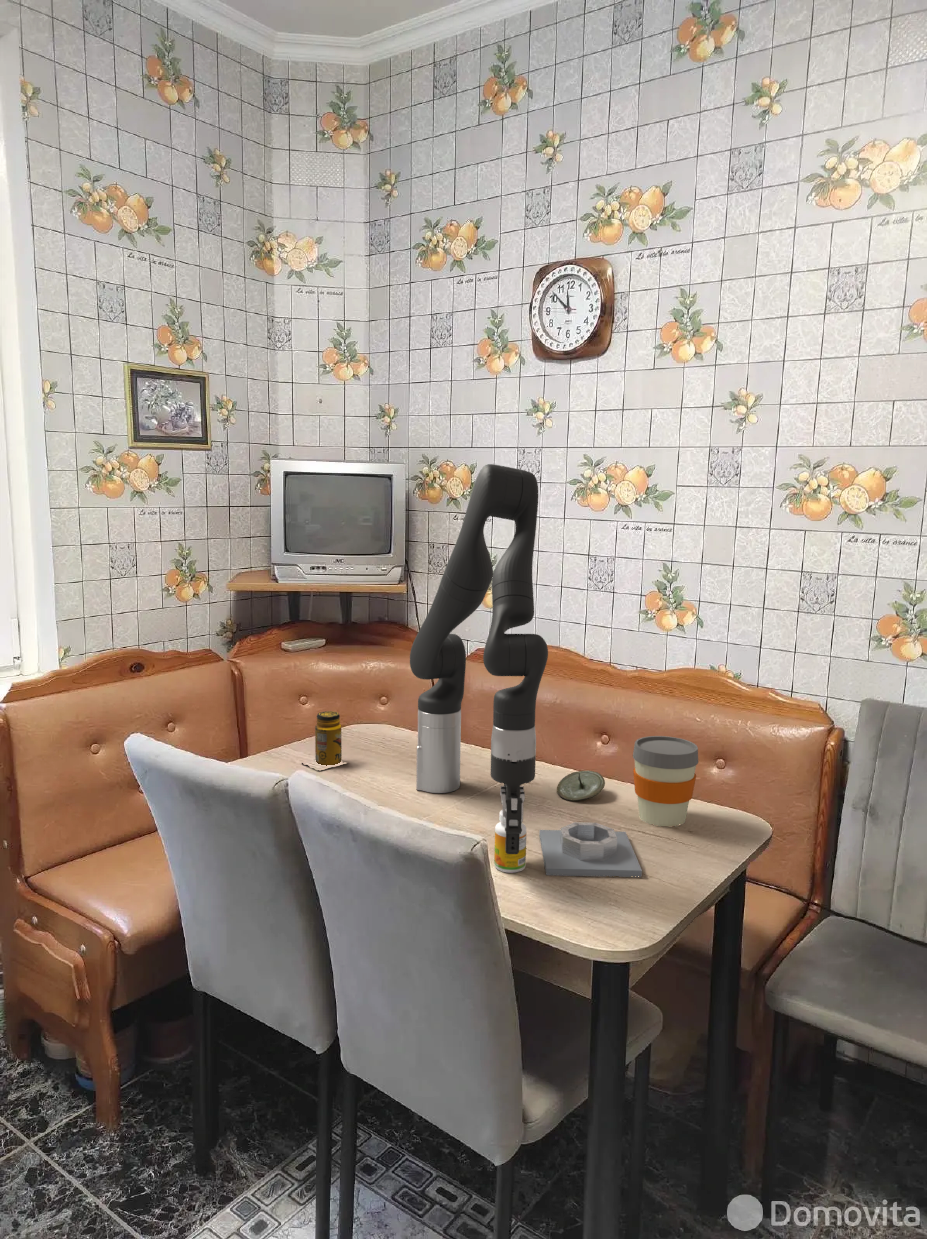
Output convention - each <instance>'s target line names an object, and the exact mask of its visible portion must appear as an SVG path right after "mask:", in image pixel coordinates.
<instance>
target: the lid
mask: <svg viewBox="0 0 927 1239" xmlns="http://www.w3.org/2000/svg"><path fill="white" fill-rule="evenodd" d="M605 780H606V779H605V778H604V776H603V775H602V774H601V773H600V772H597V771H593V770H579V771H577V770H576V771H573V772H570V773H569V774H567V775H565V776H564V777H563V778H561V779H560V781H559V782H558V783H557V786H556V793H557V795H558V796H559V798H561V799H563V800H566V801H569V802H571V801H572V802H577V801H578V802H579V801H585V800H589V799H591V798H593V797H595V796H597V795H598V794H600V793H601V791H603V789H604V788H605V785H606V781H605Z"/></svg>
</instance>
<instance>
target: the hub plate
mask: <svg viewBox="0 0 927 1239" xmlns="http://www.w3.org/2000/svg"><path fill="white" fill-rule="evenodd" d="M538 831H539V832H538V833H539V835H538V837H539V842H540V846H541V847H540V848H541V853H542V857H543V865H544V870H545V875H546V876H563V877H564V876H571V877H572V876H573V877H606V876H609V877H611V878H612V876H613V878H614V876H619V877H618V878H620V877H621V878H642V877H643V876H642V874H643V870H642V867H641V865H640V862H639V861H638V858H637V856H636V853H635V851H634V849H633V846H632V844H631V840H630V839H629V837H628V835H627V832H626V831H615V830H614V831H615V834H616V837H617V854H616V855H614V856H612V857H610V858H608V859H606V860H604V861H580V860H578V859H575V858H573V857H570V856H568V855H566V854H563V853H562V849H561V844H560V835H561V829H539V830H538ZM631 876H633V877H631ZM635 876H636V877H635ZM638 876H639V877H638ZM641 876H642V877H641Z"/></svg>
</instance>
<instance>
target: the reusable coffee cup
mask: <svg viewBox="0 0 927 1239" xmlns="http://www.w3.org/2000/svg"><path fill="white" fill-rule="evenodd" d="M632 757H633V759H634V768H633V771H632V772H633V784H634V792H635V794H636V795H637V796H636V797H637V806H638V807H637V808H638V817H640V818H639V819H640V820H641V821H642V822H644V823H646V824H648V825H651V824H654V825H653V826H655V825H658V826H657V827H661V826H675V827H677V826H676V825H679V824H682V825H683V824H685V823H686V820H687V819H686V818H687V813H688V809H689V804H690V801H691V800H692V799H693V795H694V789H695V784H696V780H697V775H696V773H695V772H696V767H697V765H698V764H699V747H698V746H697V744H696V743H694V742H692V741H690V740H687V739H684V738H680V737H675V736H674V737H673V736H665V735H652V736H651V735H650V736H643V737H640V738H637V739H636V740H635V741H634V746H633V753H632Z"/></svg>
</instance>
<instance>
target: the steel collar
mask: <svg viewBox="0 0 927 1239" xmlns="http://www.w3.org/2000/svg"><path fill="white" fill-rule="evenodd" d="M560 830H561V835H560V844H561V849H562V853H563V854H566V855H568V856H570V857H573V858H575V859H578V860H580V861H604V860H606V859H608V858H610V857H612V856H614V855H616V854H617V837H616V834H615V829H614V828H613V827H612V828H611V827H610V826H609V827H608V826H607V825H603V824H600V823H598V822H587V821H586V822H584V821H583V822H582V821H581V822H579V821H574V822H572V823H570V824H567V825H565V826H563V827H561V828H560Z"/></svg>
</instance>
